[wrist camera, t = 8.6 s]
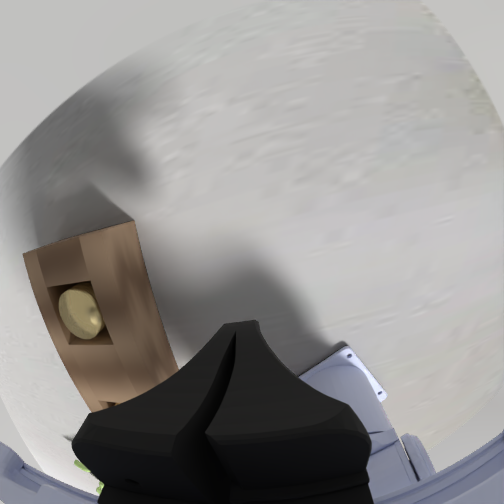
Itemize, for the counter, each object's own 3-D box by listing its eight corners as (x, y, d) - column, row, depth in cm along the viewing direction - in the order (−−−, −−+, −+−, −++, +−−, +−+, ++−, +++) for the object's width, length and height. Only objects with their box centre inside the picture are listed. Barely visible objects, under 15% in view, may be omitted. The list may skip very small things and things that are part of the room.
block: (202, 424, 25) (194, 458, 20) (132, 420, 25) (118, 449, 20) (134, 220, 20) (101, 230, 15) (57, 241, 20) (22, 253, 16)
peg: (132, 311, 22) (106, 339, 17) (98, 314, 22) (70, 339, 17) (119, 267, 21) (87, 288, 16) (85, 273, 21) (52, 292, 16)
